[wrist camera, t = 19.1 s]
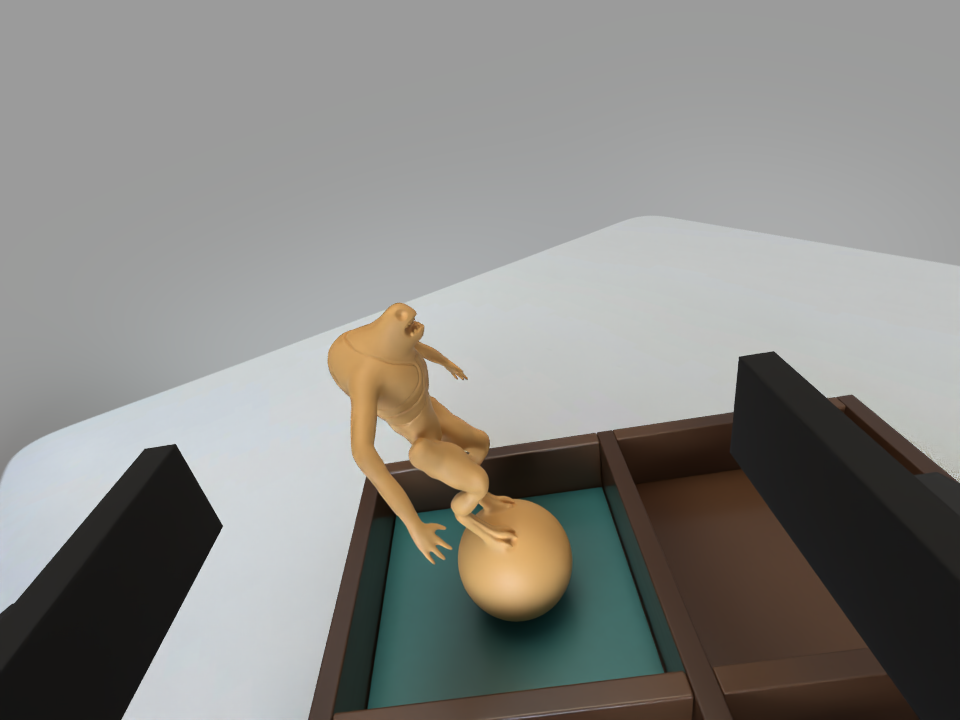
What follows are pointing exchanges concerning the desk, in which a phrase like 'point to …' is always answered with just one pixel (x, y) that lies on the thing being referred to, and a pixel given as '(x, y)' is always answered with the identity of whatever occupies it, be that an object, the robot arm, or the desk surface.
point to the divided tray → (608, 596)
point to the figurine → (447, 470)
